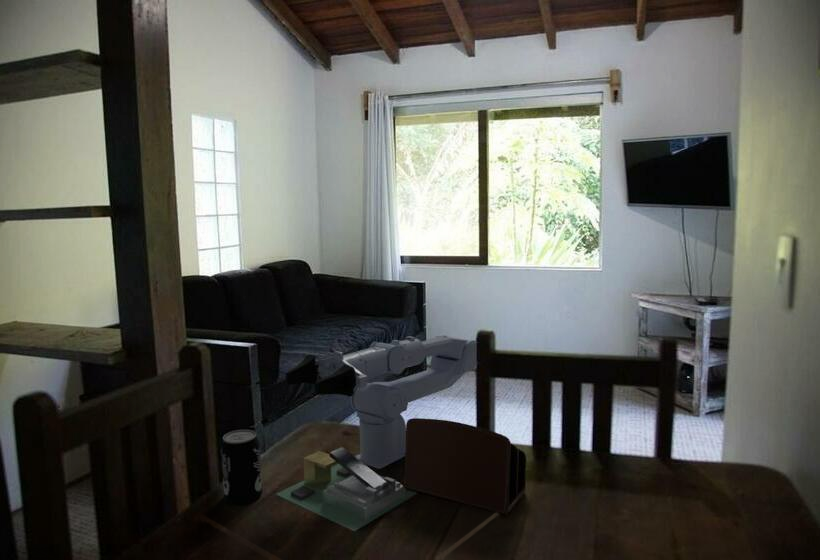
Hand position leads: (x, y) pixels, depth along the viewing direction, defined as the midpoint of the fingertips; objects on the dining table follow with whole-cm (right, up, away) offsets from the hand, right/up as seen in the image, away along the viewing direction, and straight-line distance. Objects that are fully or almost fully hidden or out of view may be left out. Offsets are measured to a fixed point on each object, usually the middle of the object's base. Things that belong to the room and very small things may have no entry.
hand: (301, 383), depth 109 cm
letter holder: (+29, -20, +3) cm, 35 cm away
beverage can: (-11, -21, +3) cm, 24 cm away
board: (+8, -21, +3) cm, 22 cm away
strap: (+10, -16, 0) cm, 19 cm away
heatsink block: (+11, -21, 0) cm, 23 cm away
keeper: (+3, -20, +6) cm, 21 cm away
